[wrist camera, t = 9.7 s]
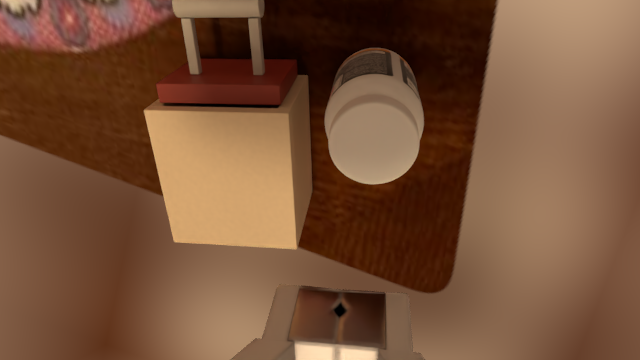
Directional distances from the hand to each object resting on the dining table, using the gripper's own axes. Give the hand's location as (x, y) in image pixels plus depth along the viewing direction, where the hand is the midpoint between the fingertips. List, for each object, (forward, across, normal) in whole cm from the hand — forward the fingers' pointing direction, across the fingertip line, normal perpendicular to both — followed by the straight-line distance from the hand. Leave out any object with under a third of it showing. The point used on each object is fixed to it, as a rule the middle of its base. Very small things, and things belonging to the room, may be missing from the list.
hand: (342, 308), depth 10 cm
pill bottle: (+23, 0, +2) cm, 23 cm away
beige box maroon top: (+23, +8, +6) cm, 25 cm away
